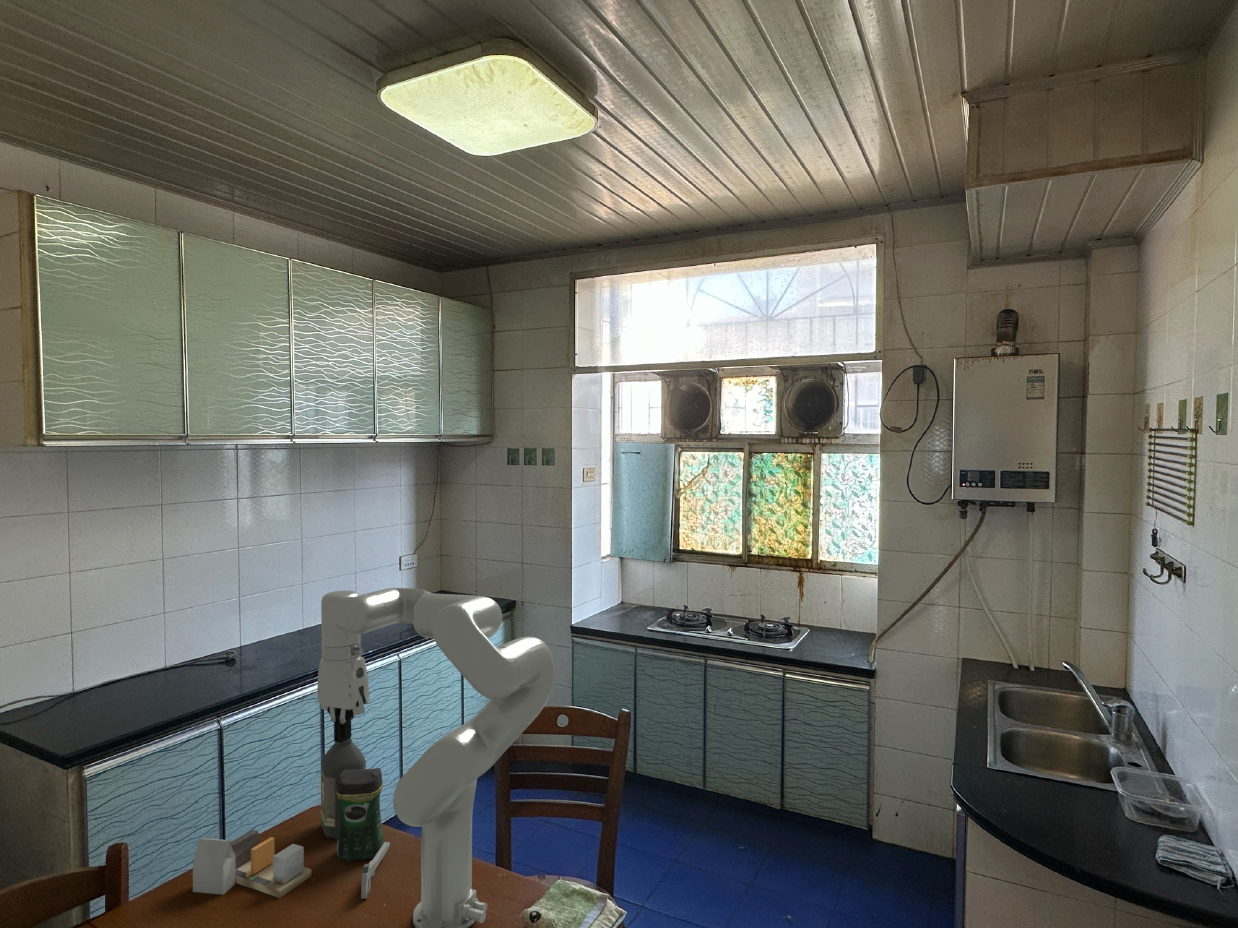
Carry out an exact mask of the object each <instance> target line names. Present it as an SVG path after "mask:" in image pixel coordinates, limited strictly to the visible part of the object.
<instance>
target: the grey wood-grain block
mask: <svg viewBox="0 0 1238 928" xmlns="http://www.w3.org/2000/svg"><path fill="white" fill-rule="evenodd" d="M304 860H305V857H304V846H302V845H299V844H295V843H292V844H290V845H289V846H287V847H286V848H284V849H282V850H280V851H279V852H278V853H276V854H275V855H274V856H273V880H274V881H277V882H280V883H283V884H284V883H286V882H287V881H289V880H290V879H292V878H293V877H295V876H296V875H298V874H299V873H301V872H302V871H304V867H305V866H304Z"/></svg>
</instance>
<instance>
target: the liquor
mask: <svg viewBox="0 0 1238 928" xmlns="http://www.w3.org/2000/svg"><path fill="white" fill-rule="evenodd" d="M347 712H348V711H347ZM345 769H347V770H357V769H367V761H366V759H365V755H364V754H363V753H362V751H361V749H360V748H359V747H358V746H357V745H356V744H355V743H354V742H353V739H352V737H351V738H350V739H348V740H346V741H344V742H342V743H339V742H334V743H333V745H332V746H331V747H330V748H329V749H328V751H327V752H326V753H325V754H324V755H323V756H322V759H321V760H320V824H321V828H322V830H323V833H324V835H325V838H328V837H329V838H330V839H334V840H335V839H338V833H339V821H340V804H339V800H338V798H337V793H336V792H337V786H338V780H339V777H340V775H341V773H342V772H343V771H344V770H345Z"/></svg>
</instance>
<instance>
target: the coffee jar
mask: <svg viewBox="0 0 1238 928" xmlns="http://www.w3.org/2000/svg"><path fill="white" fill-rule="evenodd" d="M383 781H384V780H383V774H382V770H381V768H380V767H376V768H366V769H357V770H347V769H345V770H344V771H343V772H342V773H341V775H340V777H339V780H338V786H337V792H336V793H337V798H338V800H339V804H340V821H339V833H338V838H337V844H336V845H337V846H336V856H337V858H338V859H339V860H341V861H347V862H349V861H350V862H353V861H363V860H370V859H374V857H375V856H376V854H377V853H378V851H379V850H380V848H381V847H382V845H383V844H384V834H383V833H384V832H383V825H382V823H383V822H382V817H381V816H382V815H381V805H380V804H381V803H380V801H381V800H380V799H381V793H382V791H383V787H384V786H383V785H384V782H383Z"/></svg>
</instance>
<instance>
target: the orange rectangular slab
mask: <svg viewBox="0 0 1238 928" xmlns="http://www.w3.org/2000/svg"><path fill="white" fill-rule="evenodd" d="M275 842H276V841H275V837H273V836H271V837H268V838H267V839H266V840H264V841H262V842H260V843H258V845H257V846H255V847H254V848H252V849H251V871H250V872H249V873H247V874H245V877H249V876H250V875H252V874H255V873H257V872H258V871H260V870H261V869H263V868H265V867H266V866H268V865H269V864H271V863H273V856H274V855H276V854H275V852H276V851H275V846H276V845H275Z"/></svg>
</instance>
